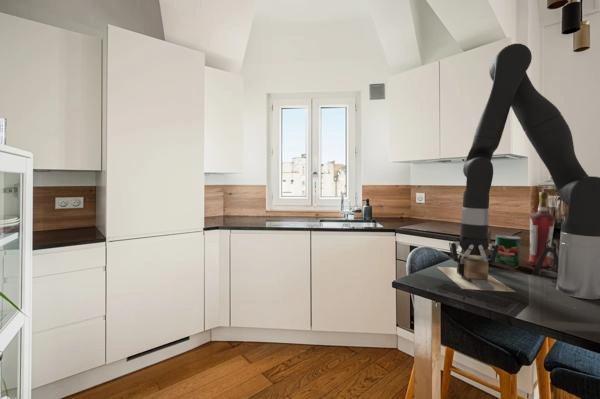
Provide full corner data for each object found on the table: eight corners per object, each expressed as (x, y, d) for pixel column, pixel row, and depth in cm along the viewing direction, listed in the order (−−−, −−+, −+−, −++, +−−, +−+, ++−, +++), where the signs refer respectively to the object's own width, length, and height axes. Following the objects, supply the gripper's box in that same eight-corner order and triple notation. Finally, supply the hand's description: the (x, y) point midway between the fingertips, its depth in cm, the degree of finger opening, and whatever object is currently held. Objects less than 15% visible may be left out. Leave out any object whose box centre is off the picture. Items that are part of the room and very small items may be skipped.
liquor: (525, 262, 120) (529, 191, 118) (548, 265, 117) (553, 192, 115) (528, 266, 114) (533, 192, 112) (553, 269, 110) (559, 192, 108)
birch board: (478, 272, 105) (479, 268, 105) (515, 296, 84) (515, 291, 84) (436, 270, 107) (436, 266, 107) (462, 292, 85) (462, 288, 85)
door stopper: (531, 274, 105) (533, 239, 104) (533, 270, 109) (536, 237, 108) (566, 280, 98) (569, 243, 98) (567, 276, 103) (569, 241, 102)
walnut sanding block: (474, 273, 100) (475, 255, 99) (487, 282, 91) (488, 262, 90) (456, 272, 100) (457, 254, 100) (467, 281, 92) (469, 261, 91)
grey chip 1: (483, 282, 91) (483, 279, 91) (488, 285, 88) (488, 283, 88) (471, 281, 91) (471, 279, 91) (475, 285, 88) (475, 282, 88)
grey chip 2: (488, 285, 88) (488, 283, 88) (493, 289, 85) (494, 286, 85) (475, 285, 88) (476, 282, 88) (480, 288, 86) (480, 285, 85)
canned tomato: (511, 262, 119) (513, 235, 118) (523, 268, 111) (525, 238, 110) (490, 261, 120) (491, 234, 119) (500, 267, 112) (501, 237, 112)
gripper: (454, 223, 92) (451, 278, 93) (506, 224, 90) (502, 281, 91) (446, 219, 99) (443, 270, 100) (493, 221, 97) (490, 273, 98)
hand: (471, 275), depth 96 cm, fingers closed on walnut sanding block, 5 cm apart
